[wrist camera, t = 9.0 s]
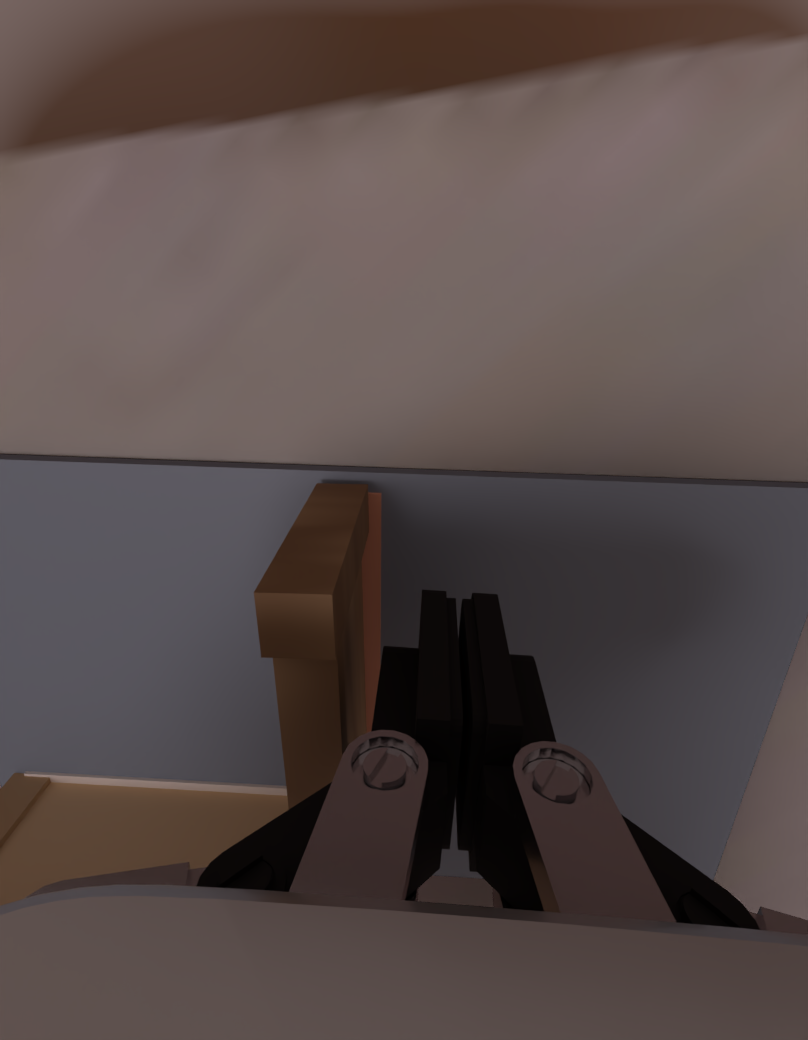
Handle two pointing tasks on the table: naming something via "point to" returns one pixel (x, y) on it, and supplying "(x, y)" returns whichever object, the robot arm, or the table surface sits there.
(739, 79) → the table surface
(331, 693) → the fence hinged section
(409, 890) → the robot arm
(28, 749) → the card
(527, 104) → the table surface
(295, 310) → the table surface
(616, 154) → the table surface
